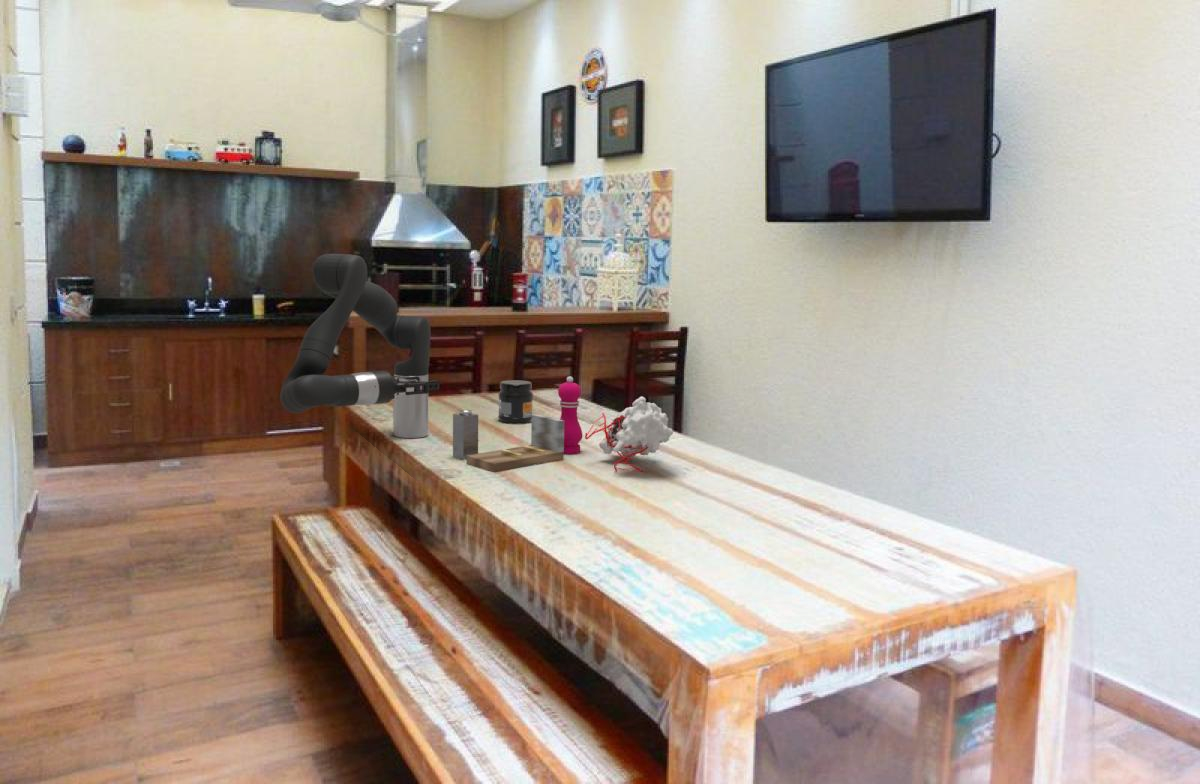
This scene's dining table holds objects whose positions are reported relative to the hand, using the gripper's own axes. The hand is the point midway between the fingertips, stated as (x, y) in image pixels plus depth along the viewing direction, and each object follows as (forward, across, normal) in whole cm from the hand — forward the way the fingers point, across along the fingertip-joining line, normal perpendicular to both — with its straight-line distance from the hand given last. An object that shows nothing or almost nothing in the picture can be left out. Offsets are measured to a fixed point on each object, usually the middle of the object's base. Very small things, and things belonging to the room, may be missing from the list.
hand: (428, 382), depth 226 cm
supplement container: (+52, +31, +20) cm, 64 cm away
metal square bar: (+11, 0, +20) cm, 23 cm away
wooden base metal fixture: (+18, -11, +20) cm, 29 cm away
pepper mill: (+36, -11, +20) cm, 43 cm away
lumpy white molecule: (+37, -33, +20) cm, 53 cm away
